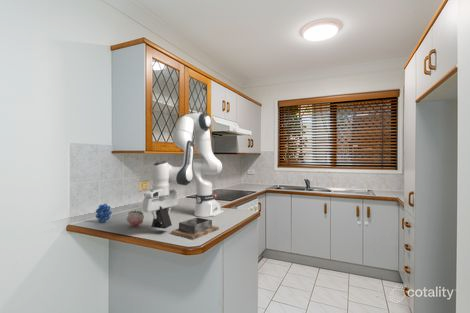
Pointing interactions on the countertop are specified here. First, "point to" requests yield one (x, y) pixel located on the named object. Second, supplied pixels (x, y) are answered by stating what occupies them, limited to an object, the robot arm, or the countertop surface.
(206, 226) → the socket board
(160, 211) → the phone stand
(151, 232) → the countertop surface
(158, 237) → the countertop surface
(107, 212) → the grapes
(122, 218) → the countertop surface
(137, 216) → the decorative fruit
